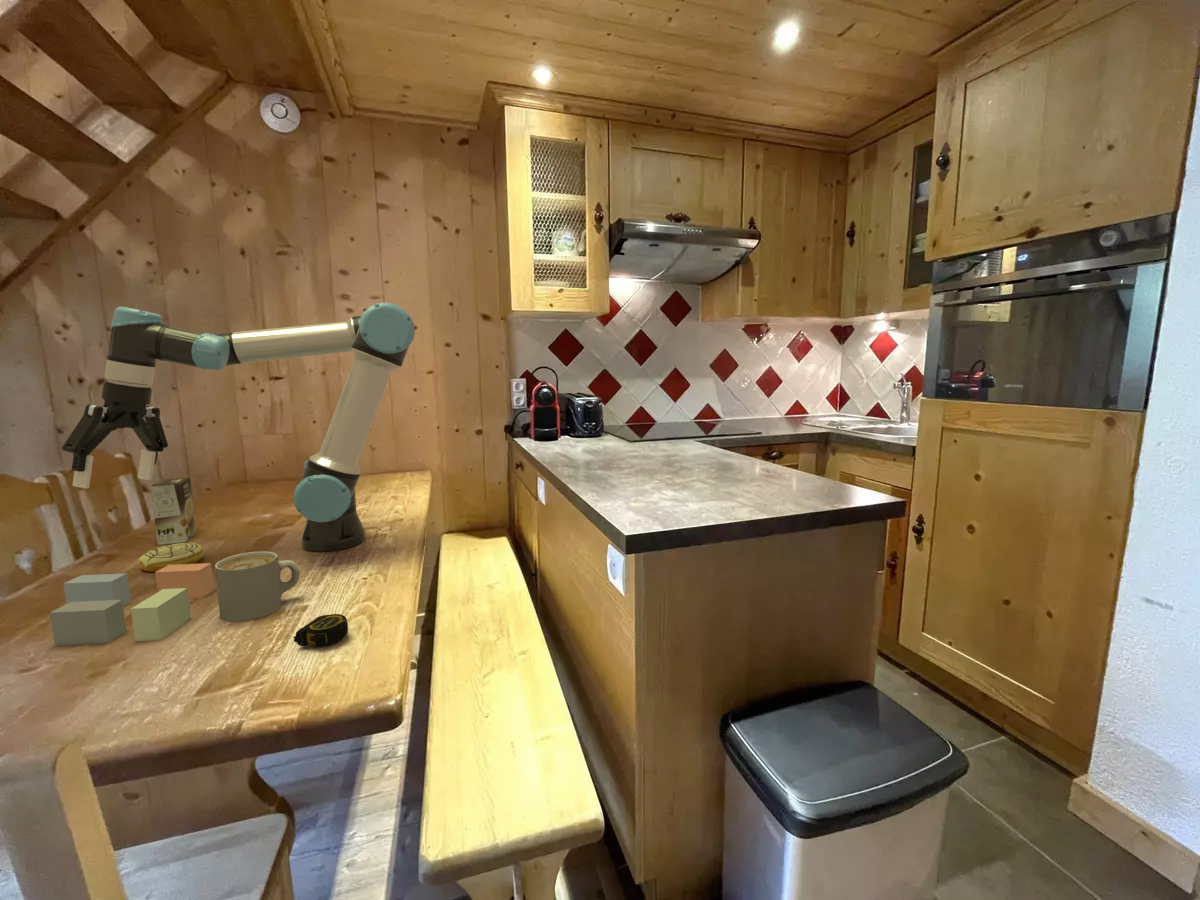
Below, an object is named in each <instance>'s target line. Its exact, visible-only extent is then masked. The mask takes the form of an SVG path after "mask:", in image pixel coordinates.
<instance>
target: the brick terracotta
mask: <svg viewBox="0 0 1200 900" xmlns="http://www.w3.org/2000/svg"><path fill="white" fill-rule="evenodd" d="M154 573H155V581H156V590H157V593H158V592H159V591H161V590H163V589H176V588H187V590H188V599H189V600H191V599H194V600H195V599H204V598H205V597H206V596H208V595H209V594H211V593H212V592H214V591H215V585H214V575H213V568H212V562H211V563H210V562H208V563H206V562H204V563H203V562H202V563H195V564H177V565H168V566H166V567H164V568H162V569H160V570H158V571H157V572H156V571H154Z"/></svg>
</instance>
